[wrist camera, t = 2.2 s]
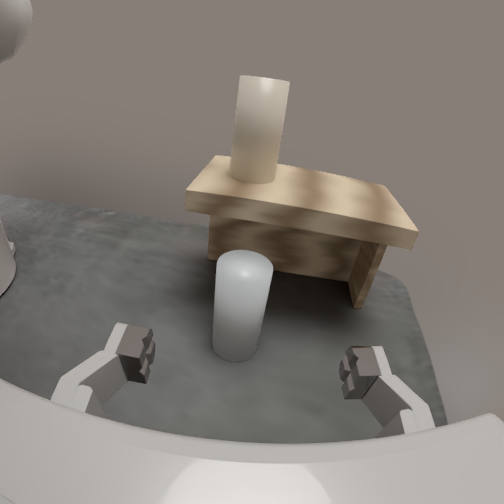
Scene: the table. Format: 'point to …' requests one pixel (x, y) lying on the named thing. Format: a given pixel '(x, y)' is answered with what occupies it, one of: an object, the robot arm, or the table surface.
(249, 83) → the white rounded cylinder
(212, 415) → the table surface
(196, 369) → the table surface
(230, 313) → the white cylinder pillar
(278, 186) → the counter
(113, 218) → the table surface
